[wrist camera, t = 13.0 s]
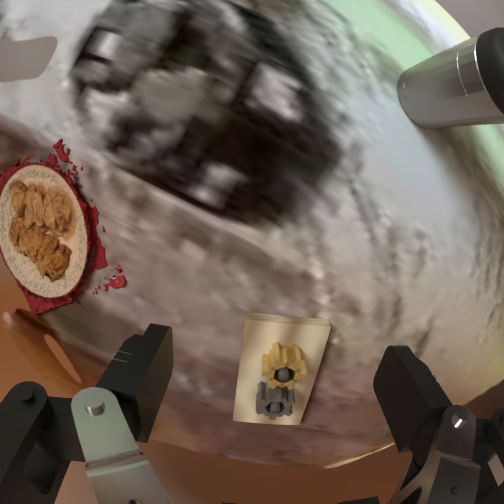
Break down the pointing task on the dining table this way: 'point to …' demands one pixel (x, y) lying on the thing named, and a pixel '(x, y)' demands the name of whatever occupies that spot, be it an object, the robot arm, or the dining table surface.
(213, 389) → the dining table surface
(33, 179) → the plate with food
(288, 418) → the gear board
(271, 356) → the brass gear
